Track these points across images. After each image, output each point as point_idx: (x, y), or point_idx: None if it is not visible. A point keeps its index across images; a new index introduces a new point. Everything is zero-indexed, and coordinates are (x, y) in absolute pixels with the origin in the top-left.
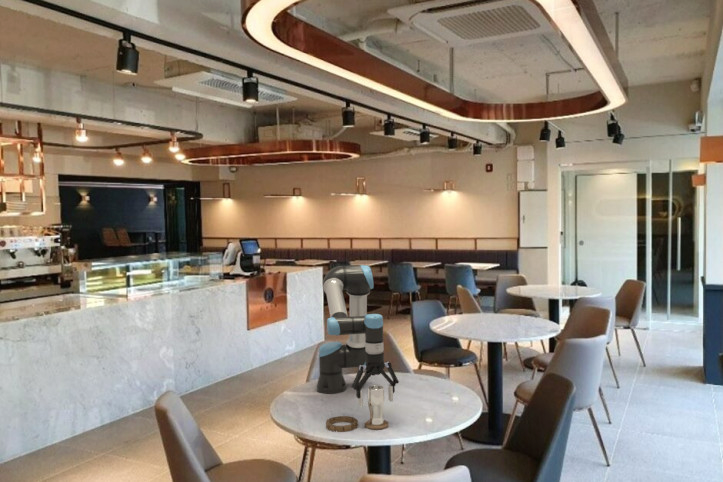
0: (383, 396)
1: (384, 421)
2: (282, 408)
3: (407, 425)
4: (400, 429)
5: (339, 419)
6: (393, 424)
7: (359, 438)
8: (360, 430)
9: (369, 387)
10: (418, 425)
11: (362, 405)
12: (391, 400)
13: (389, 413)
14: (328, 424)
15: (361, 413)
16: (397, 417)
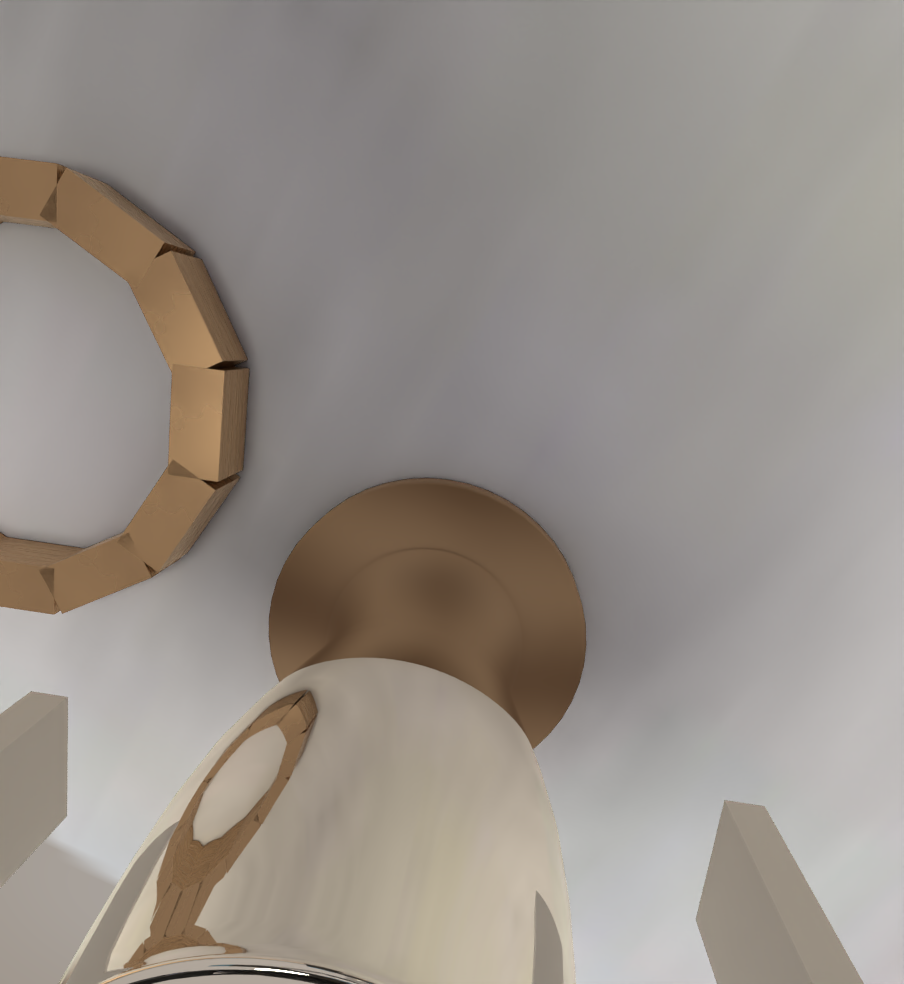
0: None
1: (548, 646)
2: None
3: None
4: (594, 876)
5: (47, 223)
6: (628, 708)
7: (79, 828)
8: (187, 646)
9: (155, 952)
10: (850, 898)
11: (45, 830)
12: (707, 941)
13: (865, 316)
14: None
15: (514, 56)
16: (841, 529)
